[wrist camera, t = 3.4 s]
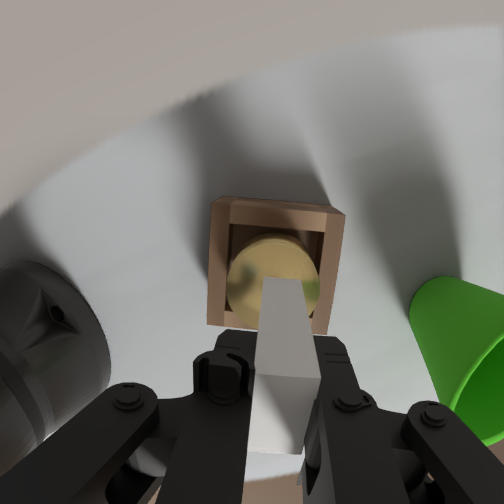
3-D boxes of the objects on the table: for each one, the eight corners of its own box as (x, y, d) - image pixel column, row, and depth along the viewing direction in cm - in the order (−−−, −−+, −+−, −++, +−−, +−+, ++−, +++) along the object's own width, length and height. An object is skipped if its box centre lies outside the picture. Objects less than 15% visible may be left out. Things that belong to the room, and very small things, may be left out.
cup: (434, 224, 20) (538, 272, 10) (497, 289, 21) (581, 350, 10) (359, 324, 22) (410, 429, 12) (432, 372, 23) (487, 461, 13)
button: (230, 303, 19) (224, 327, 16) (235, 227, 18) (228, 239, 15) (307, 309, 19) (312, 334, 16) (317, 235, 17) (326, 248, 14)
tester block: (217, 298, 22) (206, 324, 19) (222, 196, 21) (211, 203, 17) (318, 306, 22) (326, 334, 18) (332, 205, 20) (345, 215, 17)
